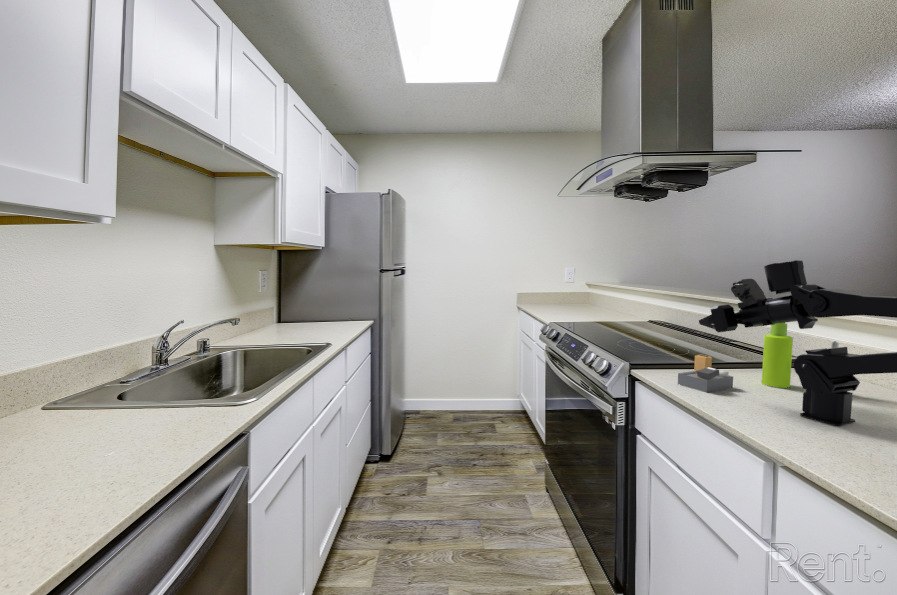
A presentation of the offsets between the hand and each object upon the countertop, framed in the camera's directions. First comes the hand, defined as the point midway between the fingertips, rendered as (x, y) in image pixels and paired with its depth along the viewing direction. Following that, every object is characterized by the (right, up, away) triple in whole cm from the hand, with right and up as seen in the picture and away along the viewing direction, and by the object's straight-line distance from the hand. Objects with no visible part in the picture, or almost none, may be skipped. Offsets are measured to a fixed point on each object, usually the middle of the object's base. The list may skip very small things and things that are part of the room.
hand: (712, 320), depth 106 cm
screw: (+27, -18, -5) cm, 33 cm away
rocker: (-3, -13, -2) cm, 14 cm away
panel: (-1, -17, +1) cm, 17 cm away
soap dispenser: (+18, -18, +1) cm, 25 cm away
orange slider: (0, -14, +4) cm, 15 cm away
